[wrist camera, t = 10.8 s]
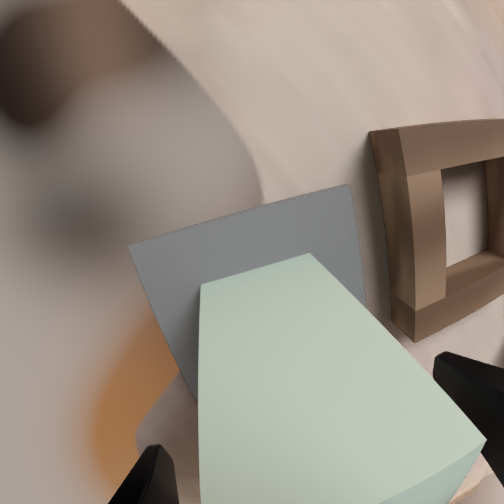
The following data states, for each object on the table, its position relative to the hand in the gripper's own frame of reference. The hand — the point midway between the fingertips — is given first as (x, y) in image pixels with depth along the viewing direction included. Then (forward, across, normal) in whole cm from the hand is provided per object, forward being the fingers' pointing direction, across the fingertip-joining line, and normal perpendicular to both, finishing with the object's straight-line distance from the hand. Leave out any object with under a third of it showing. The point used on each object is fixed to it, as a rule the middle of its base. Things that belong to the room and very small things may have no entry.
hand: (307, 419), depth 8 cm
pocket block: (+7, -12, -2) cm, 14 cm away
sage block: (+7, 0, 0) cm, 7 cm away
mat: (+7, 0, 0) cm, 7 cm away
